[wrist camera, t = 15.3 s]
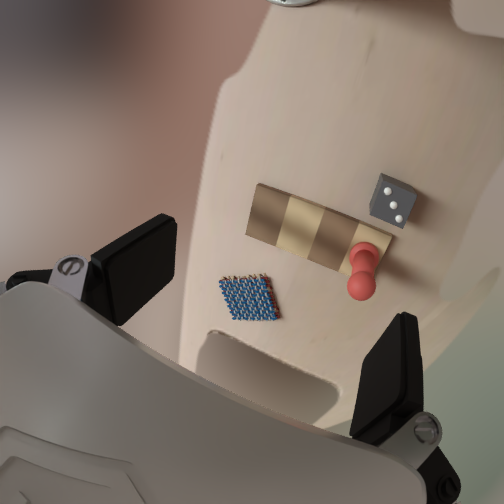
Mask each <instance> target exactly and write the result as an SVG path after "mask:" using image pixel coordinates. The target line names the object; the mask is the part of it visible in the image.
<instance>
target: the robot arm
mask: <svg viewBox="0 0 504 504" xmlns="http://www.w3.org/2000/svg"><path fill="white" fill-rule="evenodd" d="M267 1H269V2H271V3H273V4H277V5H281V6H303V5H306V4H310V3H313V2H315V1H318V0H267ZM284 1H286V2H284ZM176 236H177V223H176V222H175V219H174V218H173V217H171V216H168V215H165V214H162V213H161V214H159V215H157V216H156V217H154V218H152V219H150V220H149V221H147V222H145V223H143V224H142V225H140V226H138V227H136V228H135V229H133V230H131V231H129V232H128V233H126V234H124V235H123V236H121V237H119V238H118V239H116V240H115V241H113V242H111V243H110V244H108V245H106V246H105V247H103V248H102V249H100V250H99V251H97V252H95V253H94V254H92V255H91V261H90V262H87V259H86V258H84V257H83V256H80V255H68V256H65V257H63V258H61V259H60V260H59V261H57V262H56V264H55V266H54V268H53V269H50V270H49V269H48V270H31V271H20V272H16V273H15V274H14V275H12V276H11V277H10V278H9V279H8V281H7V283H6V284H5V281H4V282H0V504H461V503H460V502H458V503H457V501H456V500H457V498H458V496H459V493H460V490H461V483H460V479H459V477H458V475H457V473H456V472H455V470H454V469H453V467H452V466H451V464H450V463H449V461H448V460H447V458H446V457H445V455H444V454H443V452H442V451H441V449H440V448H439V447H438V445H439V443H440V441H441V438H442V427H441V424H440V422H439V420H438V419H437V418H436V417H435V416H434V415H433V414H431V413H429V412H424V411H423V405H424V402H423V401H424V400H423V399H424V397H423V365H422V356H421V351H420V339H419V329H418V320H417V317H416V316H414V315H412V314H409V313H407V312H402V313H401V314H399V313H398V314H396V316H395V317H394V319H393V320H392V322H391V323H390V324H389V326H388V327H387V329H386V330H385V331H384V333H383V334H382V336H381V337H380V338H379V340H378V341H377V342H376V344H375V345H374V346H373V348H372V349H371V350H370V352H369V353H368V354H367V355H366V357H365V359H364V361H363V363H362V369H361V376H360V382H359V388H358V393H357V399H356V404H355V409H354V414H353V419H352V423H351V428H350V433H349V434H350V436H352V438H348V437H345V436H342V435H339V434H335V433H333V432H330V431H327V430H324V429H321V428H318V427H315V426H313V425H310V424H307V423H304V422H301V421H298V420H296V419H293V418H291V417H288V416H286V415H283V414H281V413H278V412H275V411H273V410H271V409H268V408H266V407H264V406H261V405H259V404H257V403H254V402H252V401H250V400H248V399H246V398H243V397H241V396H239V395H237V394H235V393H232V392H230V391H228V390H226V389H224V388H222V387H220V386H218V385H216V384H214V383H212V382H210V381H208V380H206V379H204V378H203V377H201V376H199V375H197V374H195V373H193V372H191V371H189V370H188V369H186V368H184V367H182V366H180V365H179V364H177V363H175V362H173V361H172V360H170V359H168V358H167V357H165V356H163V355H161V354H160V353H158V352H156V351H155V350H153V349H151V348H150V347H148V346H146V345H145V344H143V343H142V342H140V341H139V340H137V339H136V338H134V337H132V336H131V335H129V334H128V333H126V332H125V331H123V330H122V329H120V328H119V327H117V326H122V325H123V324H124V323H126V322H127V321H128V320H129V319H130V318H131V317H132V316H133V315H134V314H135V313H136V312H137V311H138V310H139V309H140V308H142V307H143V306H144V305H145V304H146V303H147V302H148V301H149V300H150V299H152V297H154V296H155V295H156V294H157V293H158V292H159V291H160V290H162V289H163V287H165V286H166V285H167V284H168V283H169V282H170V281H171V280H172V279H173V277H174V270H175V269H174V268H175V251H176Z"/></svg>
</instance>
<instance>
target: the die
mask: <svg viewBox="0 0 504 504" xmlns="http://www.w3.org/2000/svg"><path fill="white" fill-rule="evenodd" d="M416 197H417V194H416V192H415V191H414V189H413V188H412V186H410V185H408V184H405V183H403V182H401V181H399V180H396V179H394V178H392V177H389V176H387V175H385V174H382V173H381V174H380V177H379V180H378V183H377V185H376V188H375V191H374V194H373V196H372V199H371V201H370V215H372V216H374V217H376V218H379V219H381V220H383V221H386V222H388V223H390V224H393V225H395V226H397V227H400V228H402V229H403V228H404V225H405V223H406V221H407V219H408V216H409V214H410V212H411V209H412V207H413V205H414V202H415V200H416Z"/></svg>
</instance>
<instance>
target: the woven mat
mask: <svg viewBox="0 0 504 504" xmlns="http://www.w3.org/2000/svg"><path fill="white" fill-rule="evenodd" d="M242 277H243V278H241V277H240V276H239V277H237V278H238V279H237V278H235V277H234V276H232V277H231V278H230V276H228V278H229V279H225V278H224V277H221V279H222V280H220V281H219V283H221V284H222V285H220V286H219V287H220V288H222V290H224V291H223V292H222V294H225V295H224V297H227V299H224V300H225V301H227V303H229V305H227V307H229V309H231V311H230V313H232V316H234V317H233V318H232V319H233V320H235V319H237V320H240V321H241V319H242V320H244V319H245V320H247V321H248V319H249V320H251V319H252V320H253V321H254V320H257V321H258V320H259V321H261V320H262V321H263V319H265V320H266V321H268V319H269V320H270V321H271V319H272V321H274V320H276V319H277V318H280V316H279V312H278V310H279V308H277V306H276V302H275V299H274V296H273V294H272V291H271V289H272V287H270V284H269V280H268V277H267V275H266V273H264V276H260V274H258V275H257V277H256V276H255V274H253V278H251V276H250V275H247V276H246V277H247V278H246V277H245V276H242ZM264 279H265V280H264ZM269 294H270V295H269ZM254 314H255V315H254ZM275 314H276V315H275Z"/></svg>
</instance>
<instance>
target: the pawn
mask: <svg viewBox="0 0 504 504" xmlns="http://www.w3.org/2000/svg"><path fill="white" fill-rule="evenodd" d="M349 261H350V264H351V266H352V273H351V277H350V278H349V280H348V283H347V289H348V292H349V294H350V296H351V297H352V298H354V299H356V300H359V301H364V300H367V299H369V298H370V297H371V296H372V295H373V294H374V292H375V289H376V282H375V279H374V268H375V267H376V266H377V265H378V262H379V253H378V250H377V248H376V247H375V246H374V245H373V244H371V243H369V242H359V243H357V244H355V245H354V246H353V247H352V249H351V251H350V256H349Z"/></svg>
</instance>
